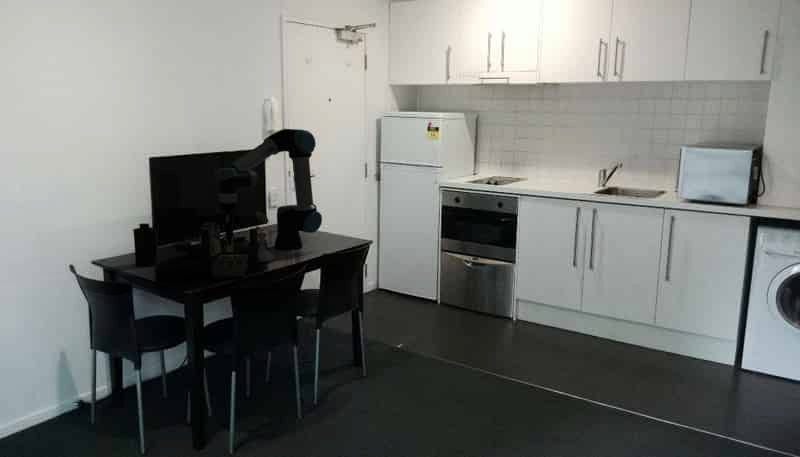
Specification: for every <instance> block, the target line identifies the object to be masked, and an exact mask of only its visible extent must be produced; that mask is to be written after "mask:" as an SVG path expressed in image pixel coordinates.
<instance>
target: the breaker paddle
mask: <svg viewBox="0 0 800 457" xmlns="http://www.w3.org/2000/svg"><path fill="white" fill-rule="evenodd" d="M227 255H228V256H227V261H233V260H234V257H233V255H234V254H227Z"/></svg>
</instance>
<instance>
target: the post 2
mask: <svg viewBox="0 0 800 457" xmlns="http://www.w3.org/2000/svg"><path fill="white" fill-rule="evenodd" d="M258 231H259V230H258V229H256V227H255V228H249V248H250V250H249V251H250V271H251V272H259V271H260V270H259V268H260V267H259V262H258V250H259V240H258V239H259V237H258V234H259V232H258Z"/></svg>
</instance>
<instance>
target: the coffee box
mask: <svg viewBox="0 0 800 457" xmlns="http://www.w3.org/2000/svg"><path fill="white" fill-rule="evenodd" d="M220 227H221V226H220V222H216V221H215V222H214V221H208V222H205V223H203V224H201V225H199V230H200V232H199V233H200V235H201V229H209V242H210V257H215V256H216V255H219V254H220V253H222V251H221V250H222V249H221V246H222V245H221V229H220ZM200 246H201V247H200V248H201V249H200V250H201V253H202V245H201V244H200Z"/></svg>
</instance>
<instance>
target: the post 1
mask: <svg viewBox="0 0 800 457" xmlns="http://www.w3.org/2000/svg"><path fill="white" fill-rule="evenodd" d="M201 245H202V252H201V261H202V263H201V266H202V273H210V272H212V269H211V267H212V265H211V256H210V242H209V229H201V234H200V246H201Z"/></svg>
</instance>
